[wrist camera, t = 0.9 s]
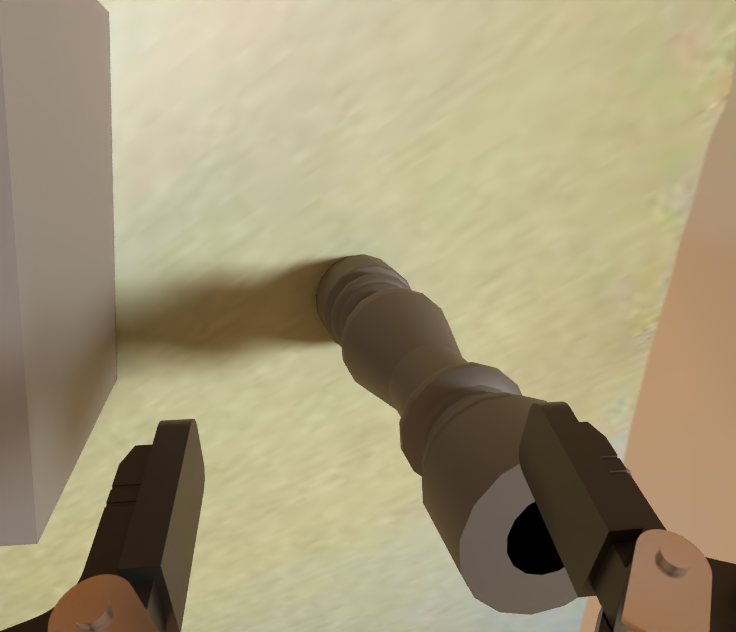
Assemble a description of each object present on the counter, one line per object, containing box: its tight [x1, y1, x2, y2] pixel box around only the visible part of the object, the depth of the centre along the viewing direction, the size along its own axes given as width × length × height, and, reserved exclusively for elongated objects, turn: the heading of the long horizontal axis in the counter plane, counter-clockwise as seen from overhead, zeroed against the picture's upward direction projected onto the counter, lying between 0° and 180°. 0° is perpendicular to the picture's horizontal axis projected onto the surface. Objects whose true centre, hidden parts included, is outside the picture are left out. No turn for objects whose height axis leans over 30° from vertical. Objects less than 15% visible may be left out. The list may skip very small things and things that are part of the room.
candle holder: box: [316, 255, 632, 615], centre depth 27 cm, size 6×6×25 cm
